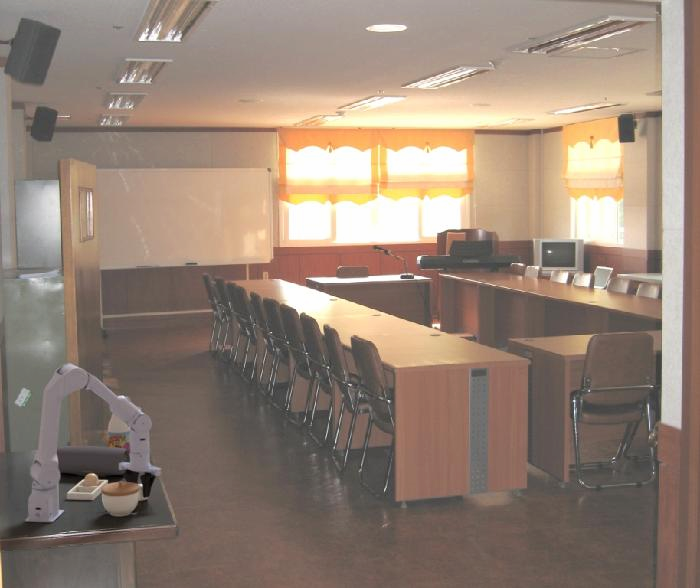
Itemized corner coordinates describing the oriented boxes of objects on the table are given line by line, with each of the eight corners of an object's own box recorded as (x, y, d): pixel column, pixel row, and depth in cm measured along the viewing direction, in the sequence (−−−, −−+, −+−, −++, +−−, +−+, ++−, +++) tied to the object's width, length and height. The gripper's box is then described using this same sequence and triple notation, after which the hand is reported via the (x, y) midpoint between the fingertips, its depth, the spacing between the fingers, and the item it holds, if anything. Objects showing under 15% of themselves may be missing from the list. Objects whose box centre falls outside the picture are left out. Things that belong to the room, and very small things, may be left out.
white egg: (145, 502, 291) (144, 486, 291) (131, 502, 292) (131, 486, 291) (148, 498, 295) (148, 482, 295) (135, 497, 296) (135, 481, 295)
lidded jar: (124, 504, 289) (123, 474, 288) (147, 512, 282) (146, 481, 281) (93, 513, 281) (93, 482, 280) (117, 521, 274) (116, 489, 273)
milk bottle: (107, 458, 339) (106, 402, 337) (129, 457, 341) (129, 401, 339) (108, 464, 332) (107, 406, 330) (131, 462, 334) (131, 405, 332)
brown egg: (95, 491, 300) (95, 475, 299) (82, 491, 300) (82, 475, 299) (100, 487, 304) (100, 471, 303) (87, 487, 304) (86, 471, 304)
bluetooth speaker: (131, 473, 321) (130, 444, 320) (121, 481, 312) (121, 451, 311) (64, 471, 324) (64, 441, 323) (53, 479, 314) (52, 448, 313)
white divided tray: (93, 501, 291) (92, 493, 291) (67, 501, 292) (66, 492, 292) (107, 487, 305) (107, 480, 305) (83, 487, 306) (82, 479, 306)
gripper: (167, 451, 292) (167, 495, 294) (129, 445, 299) (129, 488, 300) (152, 457, 286) (152, 502, 287) (113, 450, 293) (114, 494, 294)
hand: (140, 495), depth 293 cm, fingers closed on white egg, 4 cm apart
